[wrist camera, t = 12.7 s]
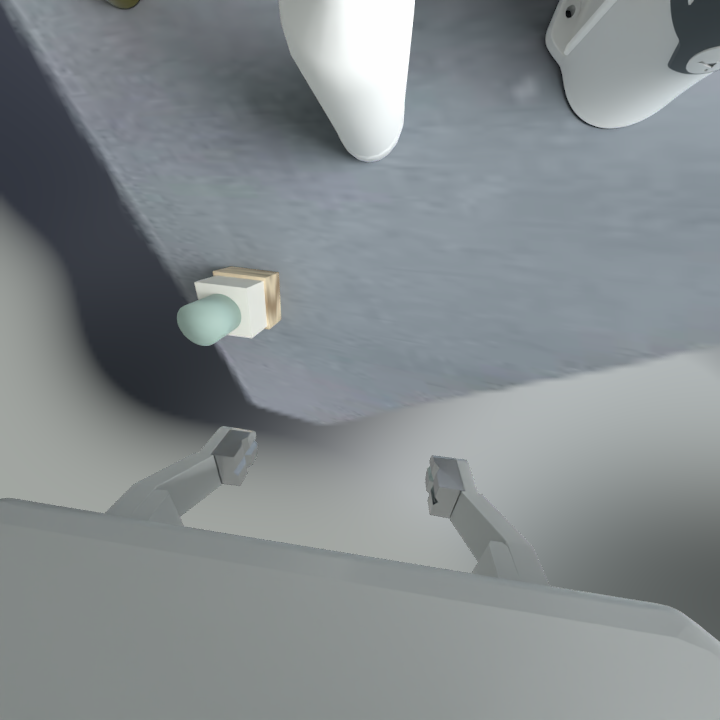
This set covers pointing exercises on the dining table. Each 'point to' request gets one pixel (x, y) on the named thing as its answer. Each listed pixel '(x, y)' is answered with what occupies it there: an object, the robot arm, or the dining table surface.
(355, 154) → the bottle
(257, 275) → the tower base
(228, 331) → the pale green rounded block
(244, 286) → the tower top
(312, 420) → the dining table surface
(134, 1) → the yellow tiered cone
